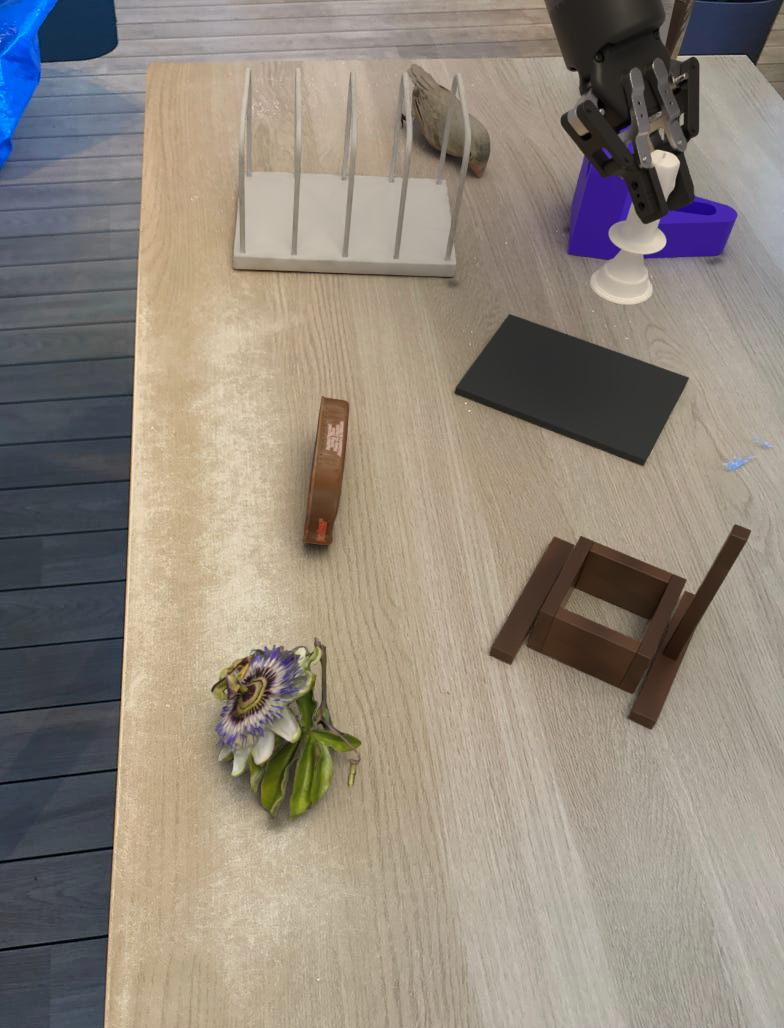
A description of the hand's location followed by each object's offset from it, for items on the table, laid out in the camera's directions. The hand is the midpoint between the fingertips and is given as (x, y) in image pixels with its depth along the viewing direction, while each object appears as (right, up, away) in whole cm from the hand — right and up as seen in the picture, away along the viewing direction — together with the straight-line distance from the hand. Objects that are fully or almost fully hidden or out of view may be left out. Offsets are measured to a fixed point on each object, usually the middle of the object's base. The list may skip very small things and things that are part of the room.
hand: (669, 212), depth 78 cm
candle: (-1, -3, +8) cm, 8 cm away
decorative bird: (-11, +29, +50) cm, 59 cm away
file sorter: (-24, +14, +39) cm, 48 cm away
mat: (-1, -8, +24) cm, 25 cm away
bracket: (+12, +14, +40) cm, 44 cm away
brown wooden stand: (-4, -33, +6) cm, 34 cm away
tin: (-27, -21, +14) cm, 37 cm away
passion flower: (-30, -42, -1) cm, 52 cm away
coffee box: (+16, +37, +56) cm, 69 cm away
